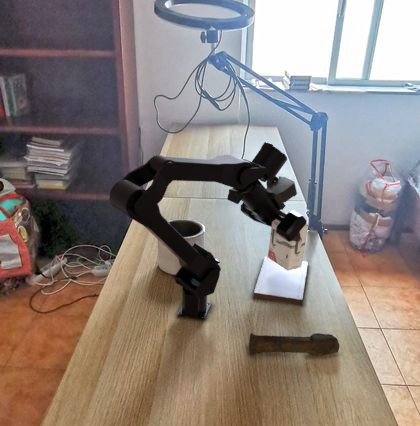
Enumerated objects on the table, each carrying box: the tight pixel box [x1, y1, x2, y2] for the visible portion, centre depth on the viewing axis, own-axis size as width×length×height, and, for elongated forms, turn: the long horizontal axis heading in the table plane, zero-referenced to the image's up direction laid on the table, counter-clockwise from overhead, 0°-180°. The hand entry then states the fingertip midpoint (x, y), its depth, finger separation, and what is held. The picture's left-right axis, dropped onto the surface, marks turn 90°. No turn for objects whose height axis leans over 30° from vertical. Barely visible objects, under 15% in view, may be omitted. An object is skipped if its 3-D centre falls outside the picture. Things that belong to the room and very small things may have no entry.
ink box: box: [267, 212, 309, 270], centre depth 123 cm, size 9×5×12 cm, turn 32°
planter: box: [157, 218, 206, 276], centre depth 130 cm, size 12×12×11 cm
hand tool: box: [248, 332, 340, 357], centre depth 102 cm, size 19×4×5 cm, turn 87°
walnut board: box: [252, 255, 309, 306], centre depth 127 cm, size 20×12×2 cm, turn 167°
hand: (287, 233), depth 121 cm, fingers closed on ink box, 8 cm apart
